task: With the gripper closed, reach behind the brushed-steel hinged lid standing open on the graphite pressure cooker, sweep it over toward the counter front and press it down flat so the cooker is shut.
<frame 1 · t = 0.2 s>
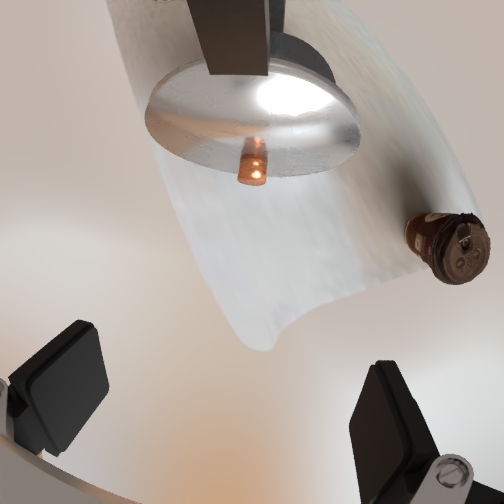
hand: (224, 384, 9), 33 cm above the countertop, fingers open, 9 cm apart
cooker lid: (246, 122, 18), point 21 cm above the countertop, hinge at 70.0°
cooker pot: (268, 111, 37), on the countertop
coffee cup: (422, 232, 39), on the countertop
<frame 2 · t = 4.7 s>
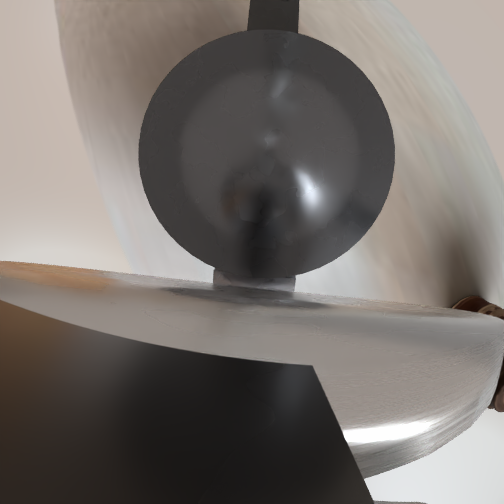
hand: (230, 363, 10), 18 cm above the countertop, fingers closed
cooker lid: (212, 363, 7), point 21 cm above the countertop, hinge at 69.8°, touching gripper
cooker pot: (271, 157, 25), on the countertop
coffee cup: (464, 317, 27), on the countertop
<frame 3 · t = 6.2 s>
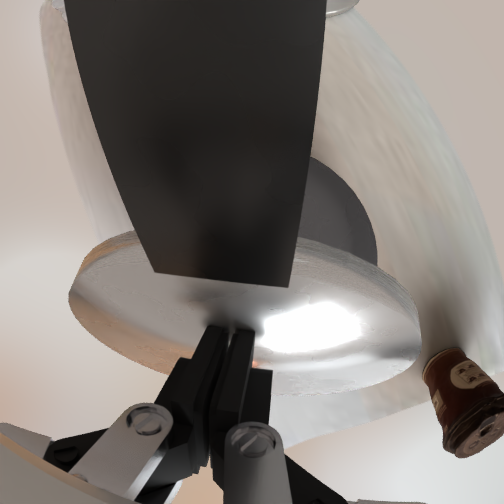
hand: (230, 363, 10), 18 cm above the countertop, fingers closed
cooker lid: (233, 352, 10), point 18 cm above the countertop, hinge at 37.4°, touching gripper
cooker pot: (265, 236, 28), on the countertop
coffee cup: (443, 365, 30), on the countertop
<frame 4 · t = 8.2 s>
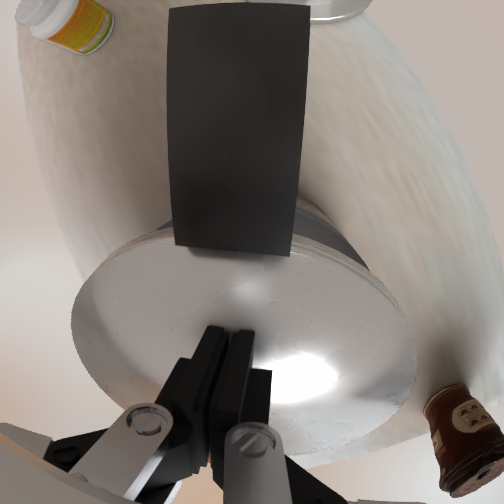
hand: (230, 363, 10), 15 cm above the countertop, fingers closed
cooker lid: (231, 368, 10), point 15 cm above the countertop, hinge at 15.4°, touching gripper
cooker pot: (260, 279, 25), on the countertop
coffee cup: (445, 400, 27), on the countertop
supplement bottle: (94, 33, 20), on the countertop
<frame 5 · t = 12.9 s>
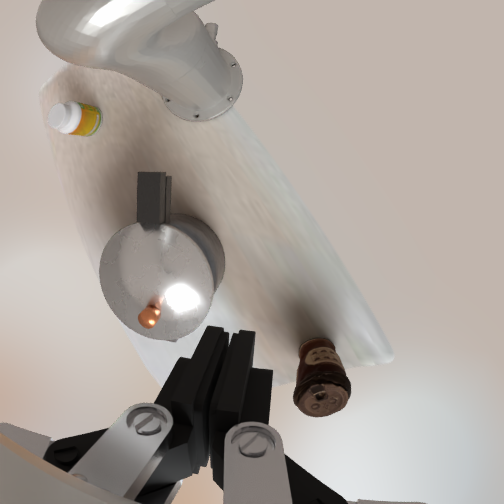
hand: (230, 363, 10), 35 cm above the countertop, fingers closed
cooker lid: (148, 263, 35), point 12 cm above the countertop, hinge at 0.0°
cooker pot: (179, 260, 47), on the countertop
coffee cup: (317, 351, 49), on the countertop
supplement bottle: (92, 121, 43), on the countertop
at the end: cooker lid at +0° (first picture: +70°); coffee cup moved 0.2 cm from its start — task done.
